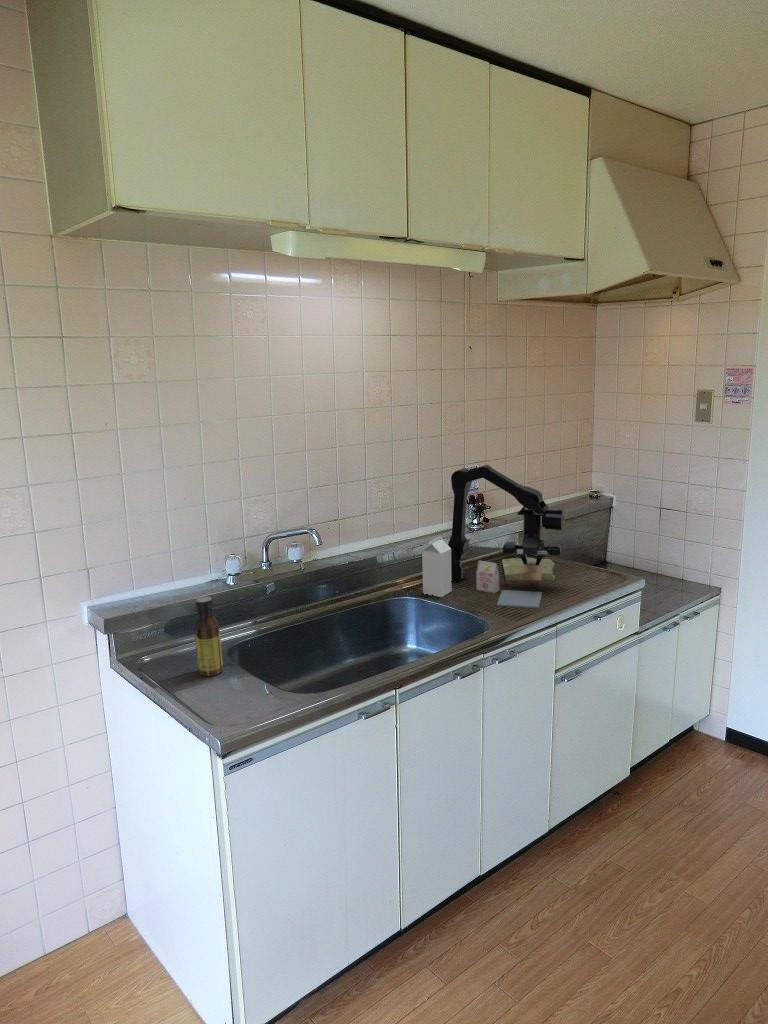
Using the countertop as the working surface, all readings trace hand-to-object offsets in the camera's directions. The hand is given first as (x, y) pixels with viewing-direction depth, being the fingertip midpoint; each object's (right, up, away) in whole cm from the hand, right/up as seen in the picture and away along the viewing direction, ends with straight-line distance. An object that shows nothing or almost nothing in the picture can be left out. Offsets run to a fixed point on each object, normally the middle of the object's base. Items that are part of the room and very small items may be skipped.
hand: (531, 573), depth 247 cm
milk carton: (-32, -7, -2) cm, 33 cm away
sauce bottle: (-94, -21, -60) cm, 113 cm away
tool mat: (-6, -8, -11) cm, 15 cm away
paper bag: (-15, -6, 0) cm, 16 cm away
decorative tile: (+3, -2, +19) cm, 20 cm away
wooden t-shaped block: (0, -1, +2) cm, 2 cm away
